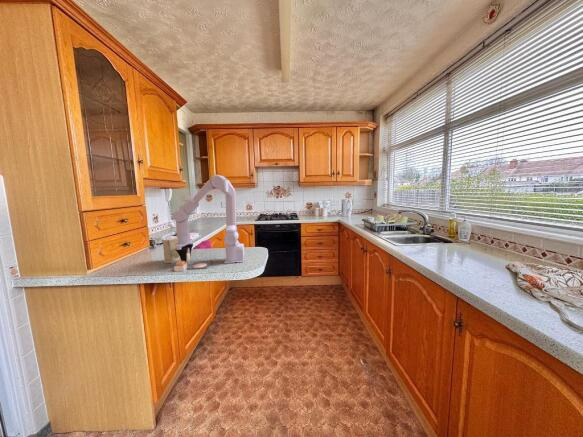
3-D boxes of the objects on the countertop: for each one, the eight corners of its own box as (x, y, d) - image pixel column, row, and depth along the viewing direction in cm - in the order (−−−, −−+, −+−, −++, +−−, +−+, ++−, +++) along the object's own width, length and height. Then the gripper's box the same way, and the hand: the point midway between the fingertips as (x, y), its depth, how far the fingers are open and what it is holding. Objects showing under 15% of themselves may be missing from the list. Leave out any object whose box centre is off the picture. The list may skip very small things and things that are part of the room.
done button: (184, 264, 111) (184, 260, 110) (182, 266, 108) (182, 262, 108) (178, 265, 111) (178, 261, 110) (176, 267, 108) (176, 263, 107)
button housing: (187, 267, 112) (186, 263, 111) (183, 270, 108) (183, 266, 107) (178, 268, 111) (177, 263, 111) (174, 271, 107) (174, 266, 107)
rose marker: (191, 262, 119) (190, 247, 118) (189, 265, 115) (187, 249, 114) (184, 263, 119) (182, 248, 118) (180, 265, 115) (179, 250, 114)
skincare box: (171, 263, 119) (169, 240, 117) (164, 263, 120) (161, 240, 118) (180, 259, 125) (177, 237, 124) (173, 259, 126) (170, 237, 125)
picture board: (212, 261, 120) (212, 260, 120) (206, 268, 110) (206, 267, 109) (194, 262, 119) (194, 261, 119) (187, 269, 109) (186, 268, 109)
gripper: (180, 231, 122) (183, 256, 124) (168, 237, 108) (171, 265, 110) (194, 230, 123) (197, 255, 124) (183, 236, 108) (186, 264, 110)
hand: (186, 259), depth 117 cm, fingers open, 4 cm apart
